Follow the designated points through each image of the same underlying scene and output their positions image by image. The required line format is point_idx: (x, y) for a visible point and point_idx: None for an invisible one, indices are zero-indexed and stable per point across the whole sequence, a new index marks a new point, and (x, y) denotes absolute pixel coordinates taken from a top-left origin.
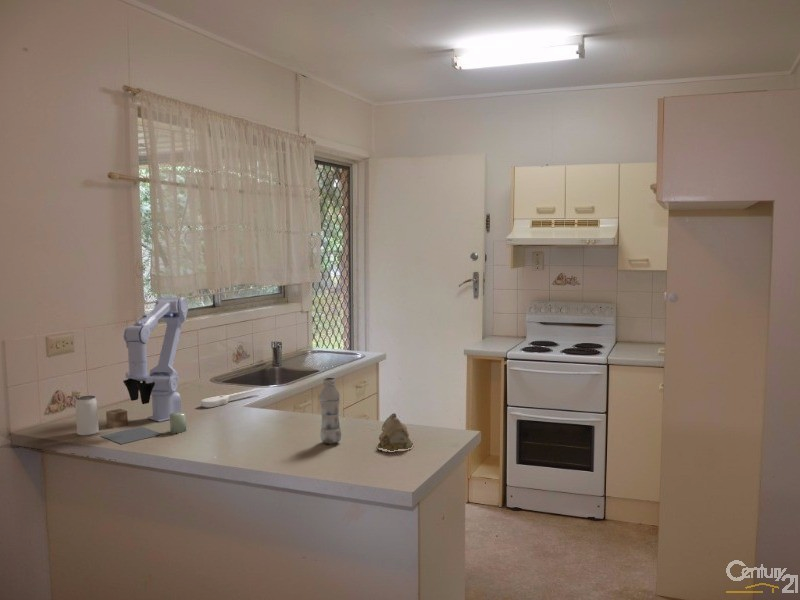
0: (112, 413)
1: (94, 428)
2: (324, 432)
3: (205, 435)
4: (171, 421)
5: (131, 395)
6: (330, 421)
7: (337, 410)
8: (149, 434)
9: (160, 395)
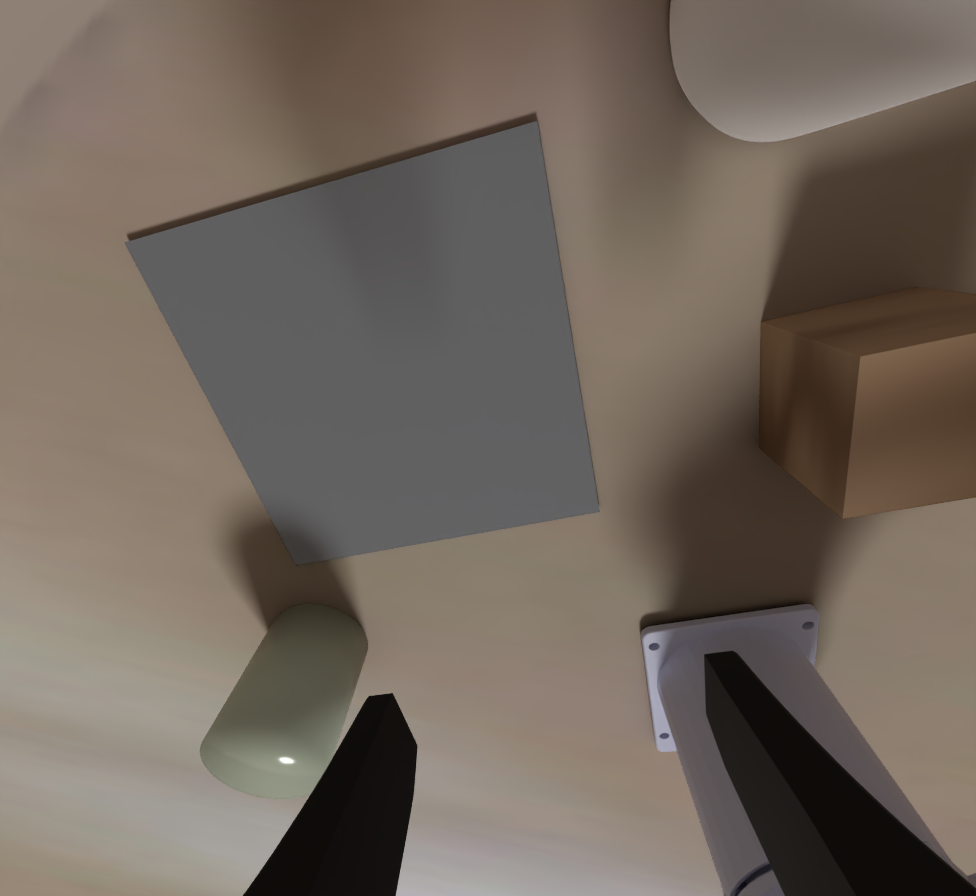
0: (889, 356)
1: (693, 51)
2: None
3: (167, 706)
4: (254, 678)
5: (749, 736)
6: None
7: None
8: (325, 497)
9: (759, 877)
